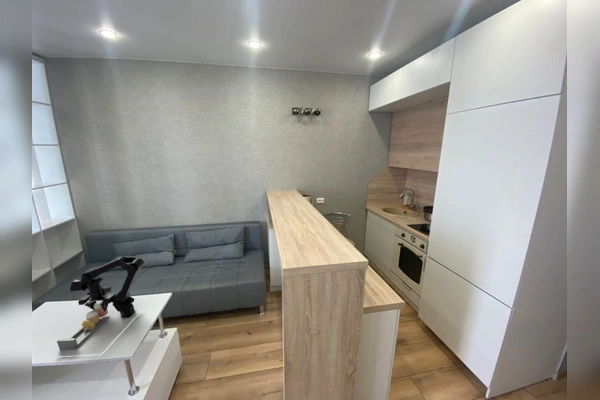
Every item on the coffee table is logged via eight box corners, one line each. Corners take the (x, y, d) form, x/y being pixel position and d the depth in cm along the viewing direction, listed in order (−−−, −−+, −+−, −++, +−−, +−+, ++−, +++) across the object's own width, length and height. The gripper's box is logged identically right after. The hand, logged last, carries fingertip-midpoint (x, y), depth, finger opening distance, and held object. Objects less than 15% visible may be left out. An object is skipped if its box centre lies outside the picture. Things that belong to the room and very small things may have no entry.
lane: (93, 321, 135) (90, 312, 134) (107, 320, 135) (105, 311, 134) (60, 350, 116) (56, 341, 114) (76, 349, 116) (73, 340, 115)
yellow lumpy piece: (85, 328, 129) (82, 319, 127) (96, 328, 129) (93, 319, 128) (79, 333, 125) (76, 324, 124) (90, 333, 126) (87, 324, 124)
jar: (110, 311, 140) (107, 300, 138) (103, 317, 134) (99, 306, 133) (101, 311, 139) (98, 300, 137) (94, 317, 134) (91, 306, 132)
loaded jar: (103, 321, 134) (99, 309, 132) (95, 328, 129) (92, 316, 127) (94, 321, 134) (91, 310, 132) (86, 328, 129) (83, 316, 127)
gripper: (120, 280, 140) (126, 301, 144) (91, 281, 140) (97, 302, 144) (106, 291, 130) (112, 314, 133) (74, 292, 129) (81, 315, 133)
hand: (101, 311), depth 136 cm, fingers closed on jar, 5 cm apart
